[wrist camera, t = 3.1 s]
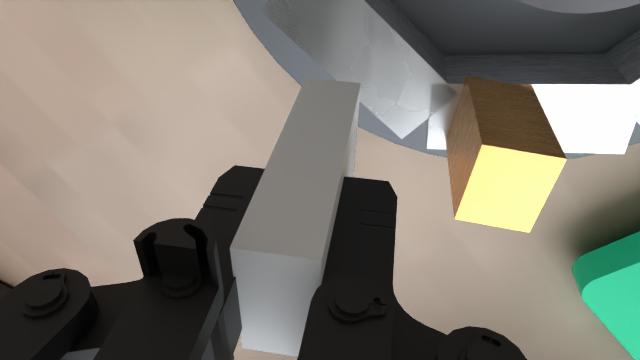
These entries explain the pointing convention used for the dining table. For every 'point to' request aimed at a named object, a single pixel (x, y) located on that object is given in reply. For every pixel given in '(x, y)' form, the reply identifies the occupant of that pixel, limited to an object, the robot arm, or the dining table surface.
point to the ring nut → (475, 101)
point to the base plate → (474, 39)
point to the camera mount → (614, 288)
